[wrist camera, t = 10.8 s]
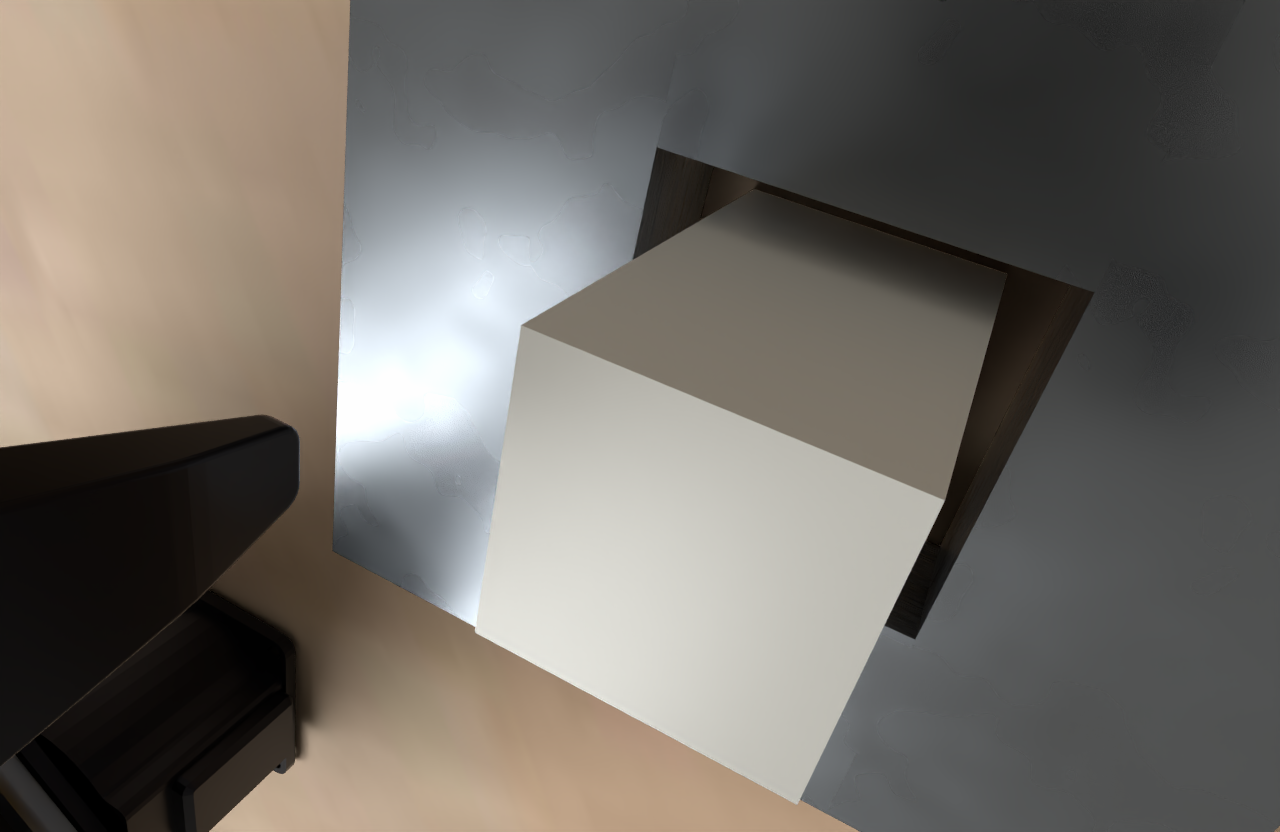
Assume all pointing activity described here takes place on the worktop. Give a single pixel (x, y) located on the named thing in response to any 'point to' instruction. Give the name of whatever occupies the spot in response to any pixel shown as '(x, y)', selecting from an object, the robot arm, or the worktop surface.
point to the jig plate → (930, 206)
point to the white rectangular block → (733, 473)
